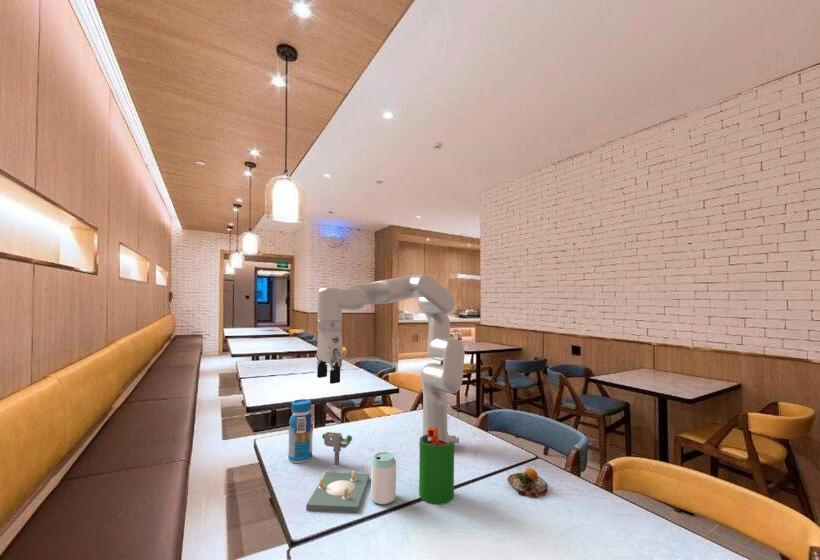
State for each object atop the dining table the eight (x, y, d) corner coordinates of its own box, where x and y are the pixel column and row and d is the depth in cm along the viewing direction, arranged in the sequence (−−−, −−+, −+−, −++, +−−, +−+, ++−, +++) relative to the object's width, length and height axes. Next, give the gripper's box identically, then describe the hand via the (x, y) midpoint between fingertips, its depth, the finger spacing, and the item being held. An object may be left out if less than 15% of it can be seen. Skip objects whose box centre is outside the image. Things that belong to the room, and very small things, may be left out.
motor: (456, 491, 107) (456, 422, 108) (449, 507, 98) (449, 433, 99) (423, 484, 110) (424, 418, 111) (414, 500, 101) (415, 428, 102)
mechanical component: (349, 467, 121) (349, 437, 121) (321, 464, 123) (321, 434, 123) (352, 463, 124) (352, 434, 124) (324, 460, 126) (325, 431, 126)
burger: (519, 474, 118) (519, 451, 118) (554, 488, 109) (554, 463, 110) (499, 487, 109) (499, 462, 110) (536, 503, 101) (536, 476, 101)
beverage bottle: (282, 461, 125) (284, 403, 126) (298, 451, 133) (299, 397, 134) (302, 465, 122) (303, 406, 123) (317, 455, 129) (318, 399, 130)
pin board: (369, 478, 113) (369, 465, 114) (357, 512, 95) (357, 497, 96) (326, 476, 114) (326, 464, 114) (306, 510, 96) (306, 495, 97)
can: (386, 509, 97) (386, 464, 98) (365, 501, 101) (366, 457, 101) (400, 497, 103) (400, 454, 104) (380, 489, 107) (381, 448, 107)
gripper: (352, 327, 110) (351, 383, 109) (329, 323, 124) (328, 373, 123) (329, 328, 105) (328, 387, 105) (308, 324, 119) (306, 376, 118)
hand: (328, 379), depth 114 cm, fingers open, 9 cm apart
